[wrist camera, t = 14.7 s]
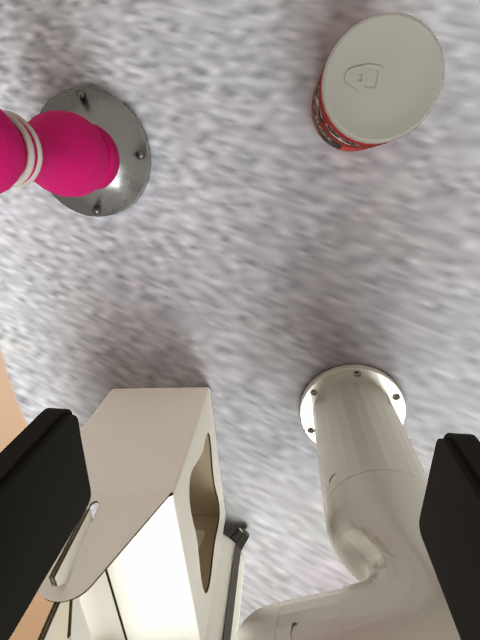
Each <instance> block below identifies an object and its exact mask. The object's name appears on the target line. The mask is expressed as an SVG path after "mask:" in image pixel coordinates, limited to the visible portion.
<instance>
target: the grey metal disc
mask: <svg viewBox="0 0 480 640" xmlns="http://www.w3.org/2000/svg"><path fill="white" fill-rule="evenodd" d="M52 110H62V111H69V112H73V113H76V114H78V115H80V116H82V117H84V118H85V119H87V120H88V121H89V122H91V123H92V124H94V125H97V126H99V127H101V128H102V129H104V130H105V131H106V132H107V133H108V134H109V135H110V136H111V138H112V139H113V140H114V142H115V144H116V146H117V149H118V153H119V159H120V163H119V170H118V173H117V176H116V177H115V179H114V180H113V182H112V183H111V184H110V185H108V186H107V187H105V188H103V189H100V190H95V191H93V192H92V193H90V194H88V195H85V196H81V197H64V196H60V195H57V194H54V193H52V192H51V193H52V194H53V195H54V196H55V197H56V198H57V199H58V200H59V201H60V202H61V203H62V204H64V205H65V206H67V207H68V208H70V209H72V210H74V211H76V212H78V213H81V214H84V215H88V216H97V217H99V216H108V215H112V214H116V213H119V212H122V211H124V210H125V209H127V208H129V207H130V206H131V205H133V204H134V203H135V202H136V201H137V200H138V199H139V197H140V196H141V194H142V193H143V191H144V189H145V187H146V185H147V182H148V179H149V175H150V169H151V154H150V147H149V143H148V139H147V136H146V134H145V131H144V129H143V127H142V125H141V123H140V122H139V120H138V119H137V117H136V116H135V115H134V113H133V112H132V111H131V110H130V109H129V108H128V107H127V106H126V105H125V104H124V103H122V102H121V101H119V100H118V99H117V98H115V97H113V96H111V95H109V94H107V93H105V92H102V91H99V90H97V89H92V88H83V87H79V88H72V89H68V90H65V91H63V92H61V93H59V94H57V95H56V96H54V97H53V98H52V99H51V100H50V101H48V102H47V104H46V105H45V106H44V107H43V109H42V110H41V112H40V114H41V113H44V112H47V111H52Z"/></svg>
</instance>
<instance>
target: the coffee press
mask: <svg viewBox="0 0 480 640" xmlns="http://www.w3.org/2000/svg"><path fill="white" fill-rule="evenodd" d="M195 531H196V537H197V544H198V548H199V547H200V545H201V543H202V540H203V538H204V535H205V532H204V531H202V530H195ZM248 537H249V533H248V532H247V531H246V529H245V528H244V527H243V526H241V527H239V528H238V529H237V530H236V531H235V533H234V534H233V535H232V536H231V537H230V538H228V537H227V536H225V535H223V536H222V542H221V548H220V554H219V560H218V566H217V572H216V578H215V584H214V590H213V596H212V602H211V608H210V614H209V620H208V626H207V632H206V637H205V640H235V637H236V635H237V632H238V625H239V616H240V606H241V596H242V586H243V575H244V558H243V555H242V553H241V550H242V548H243V546H244V544H245V543H246V541H247V539H248ZM235 543H236V544H235Z"/></svg>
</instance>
